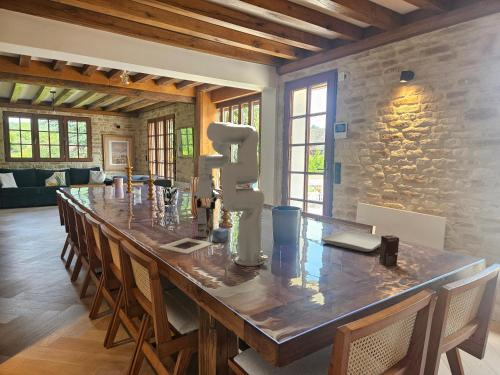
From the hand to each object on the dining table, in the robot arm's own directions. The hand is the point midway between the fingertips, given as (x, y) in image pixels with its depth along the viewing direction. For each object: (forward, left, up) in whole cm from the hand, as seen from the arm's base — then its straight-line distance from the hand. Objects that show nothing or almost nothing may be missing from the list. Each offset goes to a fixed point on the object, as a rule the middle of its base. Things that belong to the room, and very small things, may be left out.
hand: (205, 208), depth 182 cm
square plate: (-75, -29, -16) cm, 82 cm away
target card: (-5, +22, -15) cm, 27 cm away
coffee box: (0, 0, -15) cm, 15 cm away
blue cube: (-13, +5, -15) cm, 21 cm away
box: (-94, -5, -15) cm, 96 cm away
